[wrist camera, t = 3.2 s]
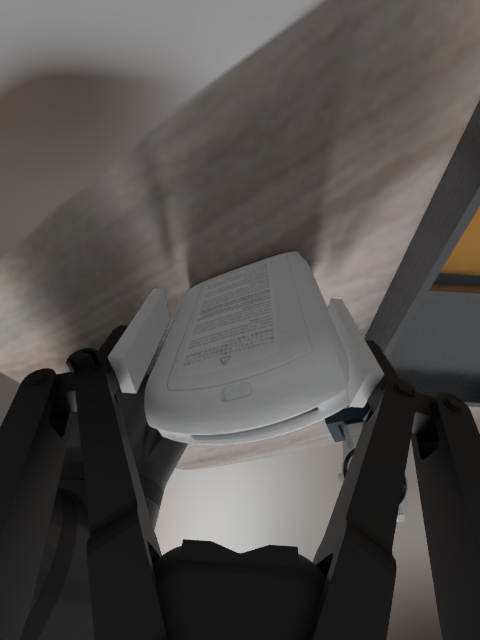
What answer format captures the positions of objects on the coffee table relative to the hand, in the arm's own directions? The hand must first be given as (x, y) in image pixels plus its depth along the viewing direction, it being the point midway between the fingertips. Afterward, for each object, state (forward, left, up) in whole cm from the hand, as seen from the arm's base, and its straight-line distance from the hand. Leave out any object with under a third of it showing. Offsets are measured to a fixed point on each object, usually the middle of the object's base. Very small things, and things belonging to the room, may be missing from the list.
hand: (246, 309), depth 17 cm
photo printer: (0, 0, -3) cm, 3 cm away
